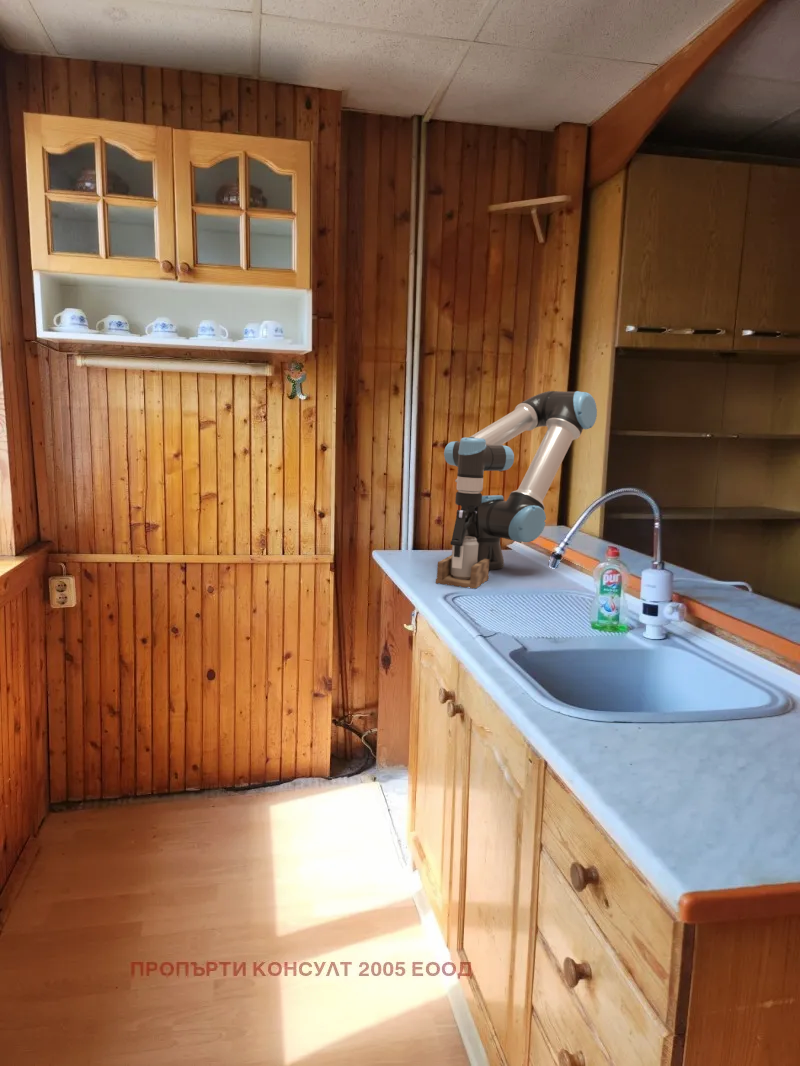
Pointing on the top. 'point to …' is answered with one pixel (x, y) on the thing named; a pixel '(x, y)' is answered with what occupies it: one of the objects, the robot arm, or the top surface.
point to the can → (466, 558)
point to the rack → (477, 578)
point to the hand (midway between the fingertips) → (463, 563)
